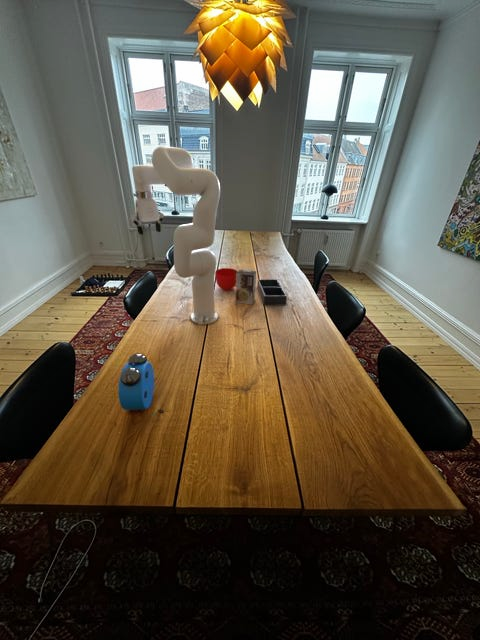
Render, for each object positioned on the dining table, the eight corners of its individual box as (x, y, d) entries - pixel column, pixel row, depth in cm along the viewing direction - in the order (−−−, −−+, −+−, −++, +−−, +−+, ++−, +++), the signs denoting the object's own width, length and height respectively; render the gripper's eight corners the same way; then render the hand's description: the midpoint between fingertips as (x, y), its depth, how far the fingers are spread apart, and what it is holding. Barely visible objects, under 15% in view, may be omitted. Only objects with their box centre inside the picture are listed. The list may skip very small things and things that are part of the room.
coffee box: (254, 299, 137) (257, 271, 129) (252, 304, 132) (254, 275, 124) (238, 297, 139) (239, 268, 131) (235, 302, 134) (236, 272, 126)
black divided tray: (285, 304, 134) (287, 295, 131) (263, 305, 132) (264, 296, 130) (276, 287, 153) (277, 279, 150) (257, 287, 152) (257, 279, 149)
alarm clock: (137, 385, 81) (128, 347, 73) (157, 385, 81) (150, 347, 74) (124, 421, 70) (112, 380, 62) (147, 420, 70) (138, 379, 63)
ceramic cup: (228, 297, 139) (228, 280, 133) (211, 287, 150) (210, 270, 145) (246, 291, 146) (247, 275, 141) (228, 282, 157) (228, 266, 152)
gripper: (130, 197, 113) (137, 236, 122) (165, 195, 124) (168, 232, 133) (123, 195, 118) (130, 233, 127) (156, 194, 129) (161, 229, 137)
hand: (149, 232), depth 130 cm, fingers open, 9 cm apart
